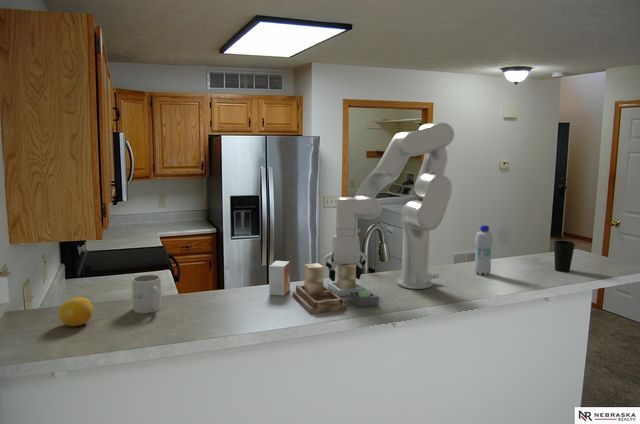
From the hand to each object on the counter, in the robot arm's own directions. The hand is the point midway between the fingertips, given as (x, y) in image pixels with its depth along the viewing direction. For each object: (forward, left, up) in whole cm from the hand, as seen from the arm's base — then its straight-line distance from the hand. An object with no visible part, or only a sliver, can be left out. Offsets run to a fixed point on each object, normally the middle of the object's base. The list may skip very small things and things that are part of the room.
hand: (344, 279), depth 177 cm
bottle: (-62, -2, -4) cm, 62 cm away
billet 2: (-1, 0, -4) cm, 4 cm away
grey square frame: (-1, 0, -4) cm, 4 cm away
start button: (-1, +15, -3) cm, 15 cm away
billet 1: (+13, +5, -3) cm, 14 cm away
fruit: (+86, +4, -4) cm, 87 cm away
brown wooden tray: (+13, +9, -4) cm, 17 cm away
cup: (-97, +5, -4) cm, 97 cm away
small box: (+22, -6, -4) cm, 24 cm away
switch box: (-1, +15, -4) cm, 16 cm away
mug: (+66, -2, -4) cm, 67 cm away
